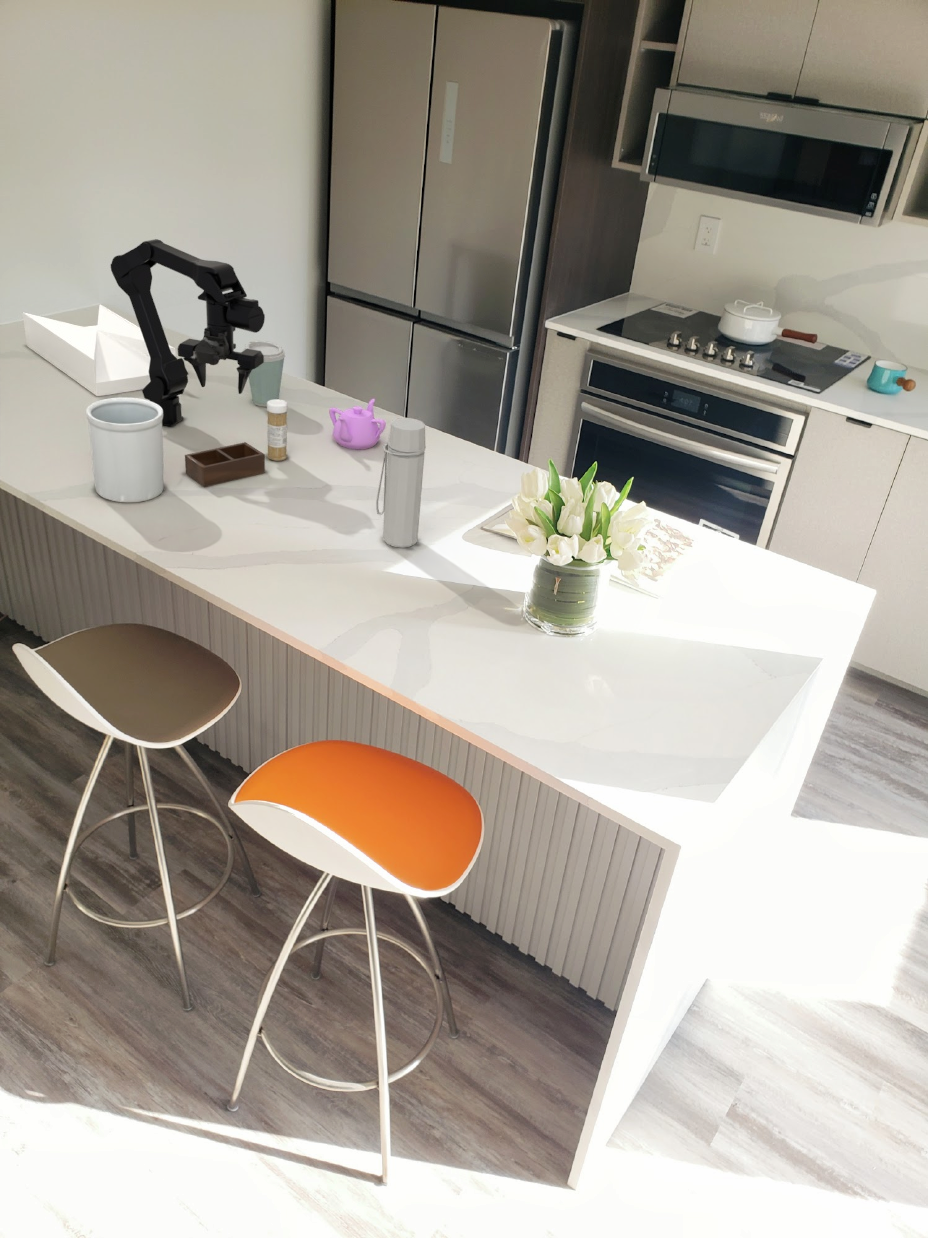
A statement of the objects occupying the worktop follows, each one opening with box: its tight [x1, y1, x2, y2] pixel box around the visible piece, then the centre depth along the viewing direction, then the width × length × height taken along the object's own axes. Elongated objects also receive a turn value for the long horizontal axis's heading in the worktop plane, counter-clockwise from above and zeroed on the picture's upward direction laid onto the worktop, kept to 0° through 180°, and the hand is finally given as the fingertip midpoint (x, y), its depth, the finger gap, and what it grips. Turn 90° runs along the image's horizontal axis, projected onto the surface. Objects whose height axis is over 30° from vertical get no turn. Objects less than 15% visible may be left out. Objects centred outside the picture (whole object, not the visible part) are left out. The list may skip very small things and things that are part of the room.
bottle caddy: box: [184, 441, 266, 488], centre depth 223 cm, size 8×15×4 cm, turn 132°
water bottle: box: [375, 417, 427, 549], centre depth 198 cm, size 9×8×25 cm
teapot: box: [328, 398, 387, 450], centre depth 245 cm, size 12×14×9 cm
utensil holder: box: [85, 397, 165, 503], centre depth 208 cm, size 15×15×18 cm
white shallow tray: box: [22, 304, 177, 397], centre depth 274 cm, size 45×22×10 cm, turn 42°
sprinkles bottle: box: [266, 398, 288, 462], centre depth 231 cm, size 5×5×14 cm
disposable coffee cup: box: [242, 340, 286, 408], centre depth 260 cm, size 11×11×15 cm
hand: (221, 390), depth 234 cm, fingers open, 9 cm apart
